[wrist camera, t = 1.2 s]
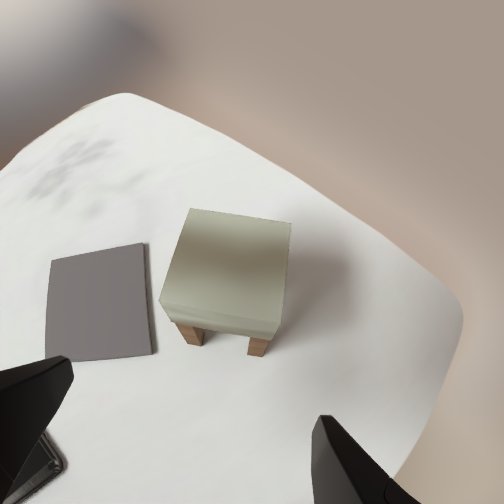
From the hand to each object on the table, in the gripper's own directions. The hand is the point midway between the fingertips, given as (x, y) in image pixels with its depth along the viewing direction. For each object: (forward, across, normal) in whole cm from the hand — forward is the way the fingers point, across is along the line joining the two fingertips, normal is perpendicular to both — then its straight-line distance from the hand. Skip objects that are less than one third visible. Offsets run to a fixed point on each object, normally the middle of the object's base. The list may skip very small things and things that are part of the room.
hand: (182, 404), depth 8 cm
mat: (+14, +13, +5) cm, 20 cm away
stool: (+15, 0, +4) cm, 16 cm away
